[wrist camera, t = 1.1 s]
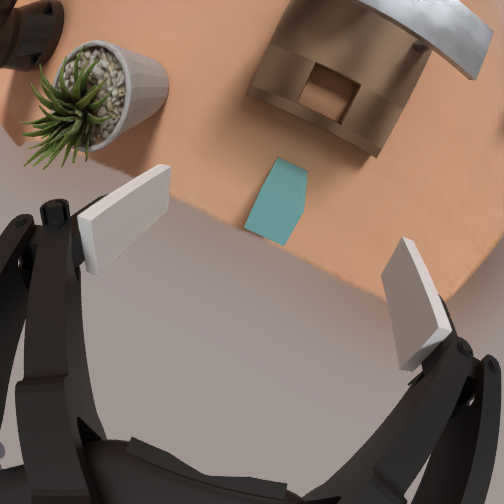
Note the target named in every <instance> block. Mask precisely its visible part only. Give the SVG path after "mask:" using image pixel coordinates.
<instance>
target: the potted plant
mask: <svg viewBox="0 0 504 504" xmlns="http://www.w3.org/2000/svg"><path fill="white" fill-rule="evenodd" d="M40 73H41V76H40V80H41V85H42V88H43V90H44V92H45V94H46V95H47V97H48V98H49V99H50V100H51V101H49V100H47V99H44V98H43V97H42V95H41V94H40V93H39V92H38V91H37V90H36V89H35V87H34V86H33V84H32V83H31V86H32V89H33V91H34V94H35V95H36V96H37V98H38V99H39V101H40V102H41V103H42V104H43V105H44V106H46V107H47V108H48V109H50V110H51V113H52V114H49V113H47V112H46V111H45V110H44V109H43V108H42V107H41V106H40V105H39V107H40V109H41V110H42V111H43V113H44V114H45V115H46V117H43V118H41V119H39V120H35V121H32V122H19V123H23V124H37V125H32V126H33V128H39V129H41V130H39V131H36V132H29V133H22V135H24V136H30V137H36V136H43V135H44V136H43V137H42V138H41V139H43V138H45V137H46V136H48V135H49V137H48V138H47V139H46V140H44V141H43V142H42V143H40V144H38V145H35V146H33V147H31V148H34V147H38V146H41V145H43V144H45V145H44V146H43V147H42V148H41V149H40V150H39V151H38V152H37V153H35V154H34V155H33V156H32V157H31V158H30V159H29V160H28V162H27V163H26V164H25V165H27V164H28V163H29V162H31V161H32V160H33V159H35V158H36V157H38V156H39V155H40V154H42V153H43V152H45V151H46V152H45V153H44V154H43V155H42V157H41V158H40V159H39V160H38V161H37V162H36V163H35V164H34V165H33V166H35V165H36V164H38V163H39V162H40V161H42V160H43V159H44V158H46V157H47V156H49V155H50V154H51V153H53V154H52V155H51V156H50V157H49V158H51V157H52V158H51V159H50V161H49V162H48V163H47V165H46V166H45V167H44V168H43V169H42V170H44V169H45V168H46V167H47V166H48V165H49V164H50V163H51V162H52V160H53V159H54V158H55V157H56V156H57V154H58V153H59V152H60V151H61V150H62V149H63V148H64V146H65V145H66V144H67V148H66V153H65V157H64V161H63V163H62V166H63V165H64V163H65V161H66V159H67V157H68V154H69V152H70V150H71V148H73V149H75V150H74V155H73V161H72V163H74V161H75V158H76V155H77V151H81V152H85V155H86V162H87V155H88V152H94V151H96V150H99V149H102V148H104V147H105V146H107V145H108V144H110V143H111V142H113V141H114V140H115V139H117V138H118V137H119V136H120V135H121V134H122V133H124V132H125V131H127V130H129V129H130V128H132V127H134V126H135V125H137V124H139V123H141V122H142V121H144V120H146V119H148V118H149V117H151V116H152V115H153V114H155V113H156V112H157V111H158V110H159V109H160V108H161V106H162V105H163V104H164V102H165V100H166V98H167V95H168V89H169V80H168V76H167V73H166V71H165V69H164V68H163V66H162V65H161V64H160V63H158V62H157V61H155V60H153V59H151V58H149V57H146V56H143V55H141V54H138V53H135V52H132V51H129V50H126V49H123V48H121V47H120V46H118V45H116V44H112V43H109V42H105V41H101V40H93V41H89V42H85V43H84V44H82V45H80V46H78V47H76V48H75V49H74V50H73V51H72V52H71V53H70V54H68V55H67V56H66V57H65V59H64V61H63V62H62V63H61V65H60V67H59V69H58V71H57V73H56V76H55V79H54V82H53V86H52V85H51V84H50V83H49V82H48V80H47V79H46V78H45V76H44V74H43V72H42V68H41V64H40ZM41 77H42V78H41ZM42 80H43V81H42ZM43 82H44V84H45V86H46V87H47V89H48V90H47V89H46V88H45V86H44V85H43ZM46 122H47V123H46ZM41 123H45V124H41ZM31 148H29V149H31ZM25 165H24V167H25ZM62 166H61V167H62Z"/></svg>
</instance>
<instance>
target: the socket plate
mask: <svg viewBox="0 0 504 504" xmlns="http://www.w3.org/2000/svg"><path fill="white" fill-rule="evenodd" d="M416 40H418V39H416V38H415V37H413V36H412V35H410V34H409V33H407V32H406V31H404V30H403V29H401V28H399V27H398V26H396V25H394V24H393V23H391V22H389V21H387V20H386V19H384V18H382V17H380V16H378V15H377V14H375V13H373V12H371V11H369V10H367V9H365V8H363V7H361V6H359V5H357V4H354V3H352V2H350V1H348V0H291V1H290V3H289V4H288V6H287V8H286V10H285V12H284V14H283V16H282V18H281V20H280V22H279V24H278V26H277V28H276V31H275V33H274V35H273V37H272V39H271V41H270V43H269V45H268V47H267V50H266V52H265V54H264V56H263V58H262V61H261V63H260V65H259V67H258V70H257V72H256V74H255V76H254V79H253V81H252V83H251V86H250V88H249V90H248V93H247V96H250V97H253V98H255V99H258V100H261V101H263V102H266V103H268V104H270V105H273V106H275V107H278V108H280V109H282V110H285V111H287V112H289V113H291V114H294V115H296V116H298V117H300V118H302V119H305V120H307V121H309V122H311V123H313V124H315V125H317V126H319V127H321V128H323V129H325V130H327V131H329V132H331V133H333V134H335V135H337V136H338V137H340V138H342V139H344V140H346V141H348V142H349V143H351V144H353V145H355V146H357V147H358V148H360V149H362V150H363V151H365V152H367V153H369V154H370V155H372V156H374V157H375V158H377V157H378V155H379V153H380V152H381V150H382V148H383V146H384V144H385V143H386V141H387V139H388V137H389V135H390V134H391V132H392V130H393V128H394V126H395V124H396V122H397V121H398V119H399V117H400V115H401V113H402V111H403V109H404V107H405V105H406V103H407V101H408V100H409V98H410V96H411V94H412V92H413V90H414V88H415V86H416V84H417V82H418V80H419V77H420V75H421V73H422V71H423V69H424V67H425V65H426V63H427V61H428V58H429V56H430V54H431V52H432V51H429V52H425V53H418V52H417V51H415V49H414V48H413V43H414V41H416ZM315 64H316V65H319V66H321V67H323V68H325V69H327V70H329V71H331V72H333V73H336V74H338V75H340V76H342V77H343V78H345V79H347V80H349V81H351V82H353V83H355V84H357V85H358V87H357V89H356V91H355V93H354V95H353V97H352V99H351V101H350V103H349V105H348V107H347V109H346V110H345V112H344V114H343V116H342V118H341V120H340V122H339V123H338V122H336V121H334V120H332V119H330V118H328V117H326V116H324V115H322V114H320V113H318V112H316V111H314V110H312V109H310V108H308V107H306V106H304V105H301V104H299V103H297V102H298V100H299V98H300V95H301V93H302V91H303V89H304V87H305V85H306V83H307V81H308V79H309V77H310V75H311V72H312V70H313V68H314V66H315Z"/></svg>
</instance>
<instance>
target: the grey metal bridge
mask: <svg viewBox="0 0 504 504" xmlns="http://www.w3.org/2000/svg"><path fill="white" fill-rule="evenodd" d="M348 1H350V2H352V3H354V4H357V5H359V6H361V7H363V8H365V9H367V10H369V11H371V12H373V13H375V14H377V15H378V16H380V17H382V18H384V19H386V20H387V21H389V22H391V23H393V24H394V25H396V26H398V27H399V28H401V29H403V30H404V31H406V32H407V33H409V34H410V35H412V36H413V37H415V38H416V39H418V40H416V41H414V43H413V48H414V49H415V51H417V52H418V53H425V52H429V51H432V50H433V51H435V52H436V53H437V54H439V55H440V56H441V57H443V58H444V59H445V60H446V61H448V62H449V63H450V64H451V65H453V66H454V67H455V68H456V69H457V70H458V71H460V72H461V73H462V74H463V75H464V76H465V77H466V78H468V79H469V80H476V78H477V76H478V74H479V71H480V69H481V66H482V64H483V61H484V58H485V56H486V53H487V50H488V47H489V44H490V42H491V39H492V35H493V32H494V31H493V30H492V29H490V28H489V27H488V26H487V25H486V24H485V23H484V22H483V21H482V20H481V19H480V18H479V17H477V16H476V15H475V14H474V13H473V12H472V11H470V10H469V9H468V8H467V7H466V6H464V5H463V4H462V3H461V2H459V1H458V0H348Z"/></svg>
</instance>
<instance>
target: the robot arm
mask: <svg viewBox="0 0 504 504" xmlns="http://www.w3.org/2000/svg"><path fill="white" fill-rule="evenodd" d="M16 2H17V0H0V69H1V68H6V69H11V70H16V71H21V72H27V71H33V70H37V69H39V68H40V64H41V66H43V65H44V64H45V63H46V61H47V60H48V59H49V57H50V56H51V54H52V53H53V51H54V49H55V47H56V45H57V43H58V40H59V38H60V35H61V31H62V27H63V22H64V10H63V6H62V4H61V3H60V2H59V1H58V0H40V1H37V2H34V3H31V4H28V5H25V6H22V7H19V8H14V6H15V4H16ZM170 177H171V166H167V165H163V164H158V165H157V166H155V167H153V168H151V169H150V170H148V171H146V172H144V173H143V174H141V175H139V176H137V177H136V178H134V179H133V180H131V181H129V182H128V183H126V184H125V185H123V186H121V187H119V188H118V189H116V190H115V191H113V192H112V193H110V194H107V195H104V196H101V197H99V198H97V199H96V200H94V201H92V203H89V204H88V205H87V206H86V207H84V208H82V209H81V210H79V211H78V212H77V213H75V214H74V215H72V216H71V217H70V211H69V204H68V201H67V200H64V199H54V200H50V201H48V202H46V203H44V204H43V205H42V206H41V207H40V213H41V219H42V224H43V226H41V225H35V224H34V219H33V216H32V215H30V214H22V215H19V216H17V217H16V218H14V219H13V220H12V221H11V222H10V223H9V225H8V226H7V227H6V228H5V230H4V231H3V233H2V234H1V236H0V428H1V424H2V420H3V415H4V409H5V403H6V397H7V391H8V384H9V380H10V375H11V370H12V366H13V361H14V357H15V353H16V349H17V346H18V342H19V339H20V335H21V332H22V328H23V325H24V322H25V319H26V324H25V340H24V378H23V380H22V381H18V382H17V384H16V386H15V404H16V416H17V425H18V433H19V440H20V446H21V452H22V457H23V461H24V464H23V465H19V466H15V467H11V468H7V469H2V468H1V465H0V504H407V500H406V499H405V497H404V494H405V492H406V491H407V489H408V488H409V486H410V485H411V483H412V482H413V480H414V479H415V478H416V476H417V475H418V473H419V472H420V470H421V469H422V467H423V465H424V464H425V462H426V461H427V459H428V457H429V456H430V454H431V456H430V458H429V462H428V464H427V467H426V470H425V472H424V475H423V477H422V480H421V482H420V485H419V487H418V489H417V491H416V494H415V496H414V498H413V500H412V502H411V504H484V503H485V499H486V496H487V492H488V489H489V485H490V480H491V476H492V472H493V467H494V462H495V456H496V450H497V443H498V435H499V426H500V412H501V369H500V366H499V363H498V361H497V360H496V359H495V358H494V357H493V356H491V355H486V356H485V357H484V358H483V359H482V360H481V361H480V360H478V359H476V358H475V357H473V351H472V348H471V346H470V345H469V344H468V342H467V341H465V340H464V339H463V338H461V337H458V336H457V333H456V330H455V328H454V325H453V322H452V320H451V318H450V314H449V312H448V309H447V307H446V304H445V302H444V301H443V299H442V298H441V296H440V295H439V294H438V293H437V290H436V288H435V286H434V283H433V281H432V279H431V277H430V274H429V272H428V270H427V268H426V266H425V264H424V262H423V260H422V258H421V256H420V254H419V252H418V250H417V248H416V246H415V244H414V242H413V241H412V240H410V239H407V238H405V237H402V238H401V240H400V242H399V244H398V245H397V247H396V249H395V251H394V253H393V255H392V257H391V258H390V260H389V262H388V264H387V265H386V267H385V269H384V271H383V272H382V274H381V277H382V281H383V285H384V289H385V294H386V298H387V303H388V307H389V312H390V316H391V321H392V327H393V332H394V338H395V343H396V349H397V356H398V362H399V369H400V370H406V371H412V372H413V371H414V370H415V369H416V368H417V367H418V366H419V365H420V364H422V369H423V371H422V372H421V373H420V374H418V375H417V376H416V377H415V378H414V379H413V380H412V381H411V382H410V383H408V385H411V386H410V388H409V389H408V390H407V392H406V393H405V394H404V396H403V397H402V399H401V400H400V401H399V403H398V404H397V405H396V407H395V408H394V409H393V411H392V412H391V413H390V414H389V416H388V417H387V418H386V419H385V421H384V422H383V423H382V424H381V425H380V427H379V428H378V429H377V430H376V431H375V433H374V434H373V435H372V436H371V437H370V439H368V441H367V442H366V443H365V444H364V445H363V446H362V447H361V448H360V449H359V450H358V451H357V453H355V455H354V456H353V457H352V458H351V459H350V460H349V461H348V462H347V463H346V464H345V465H344V466H343V467H342V468H340V470H338V471H337V472H336V473H335V474H334V475H333V476H332V477H331V478H330V479H329V480H328V481H326V482H325V483H324V484H322V485H321V486H319V487H317V488H315V489H314V490H312V491H310V492H309V493H307V494H306V495H305V496H303V497H302V498H301V497H299V496H298V495H297V494H295V493H293V492H291V491H289V490H287V489H286V488H287V483H280V482H273V481H268V480H262V479H257V478H252V477H224V476H208V475H204V474H202V473H200V472H199V471H197V470H195V469H194V468H192V467H190V466H189V465H187V464H185V463H184V462H182V461H180V460H179V459H178V458H176V457H174V456H173V455H171V454H170V453H168V452H166V451H163V450H161V449H159V448H156V447H154V446H152V445H149V444H147V443H145V442H143V441H140V440H138V439H136V438H134V437H132V438H131V440H130V442H129V441H122V440H107V438H106V435H105V432H104V429H103V426H102V424H101V422H100V419H99V417H98V415H97V412H96V408H95V403H94V399H93V394H92V389H91V383H90V378H89V372H88V365H87V359H86V351H85V343H84V332H83V321H82V305H81V271H80V267H79V265H81V264H82V262H83V261H85V265H86V270H87V272H89V273H92V274H94V275H96V276H98V277H100V276H101V275H102V274H103V273H104V272H105V271H106V270H107V269H108V268H109V267H110V266H111V265H112V264H113V263H114V261H116V259H117V258H119V257H120V255H121V254H122V253H123V252H124V251H125V250H126V249H127V248H128V247H129V246H130V245H131V244H132V243H134V241H135V240H136V239H137V238H139V237H140V236H141V235H142V234H143V233H144V232H145V231H146V230H147V229H148V228H149V227H150V226H151V225H152V224H153V223H154V222H155V221H157V220H158V218H160V217H161V216H162V215H163V214H164V213H165V212H166V211H167V210H168V201H169V188H170ZM18 260H19V263H20V264H19V266H18ZM473 399H474V401H473V402H472V404H471V405H470V406H469V404H470V401H471V400H473ZM431 452H432V453H431ZM4 454H5V449H4V446H3V444H2V443H1V442H0V458H2V457H3V456H4Z"/></svg>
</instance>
